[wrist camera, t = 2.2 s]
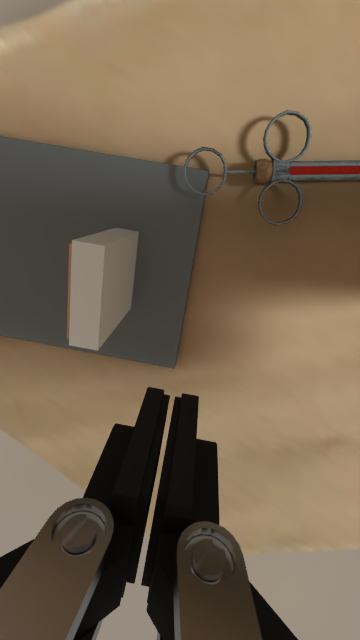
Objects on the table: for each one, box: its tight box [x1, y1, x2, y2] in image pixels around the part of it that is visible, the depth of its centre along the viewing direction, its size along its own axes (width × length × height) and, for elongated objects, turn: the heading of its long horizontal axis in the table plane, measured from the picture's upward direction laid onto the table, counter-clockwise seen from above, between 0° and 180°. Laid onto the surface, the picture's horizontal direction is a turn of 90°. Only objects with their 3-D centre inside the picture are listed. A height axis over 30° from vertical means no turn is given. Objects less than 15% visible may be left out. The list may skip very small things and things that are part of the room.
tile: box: [67, 228, 139, 351], centre depth 24 cm, size 2×7×9 cm, turn 171°
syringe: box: [183, 110, 360, 225], centre depth 23 cm, size 8×18×2 cm, turn 90°
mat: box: [0, 136, 209, 368], centre depth 29 cm, size 22×18×1 cm
